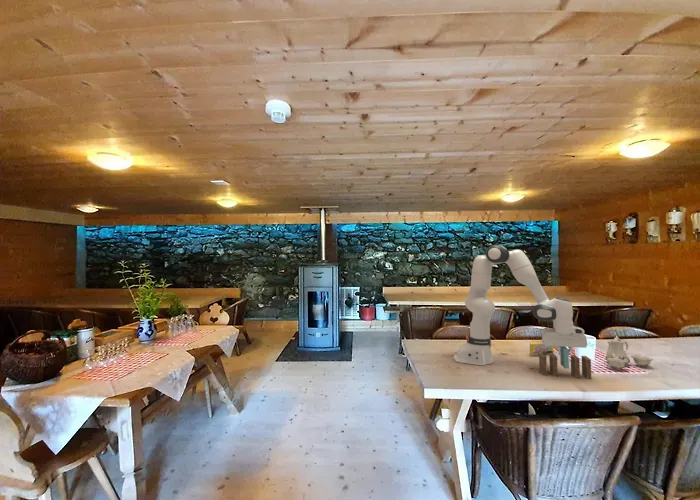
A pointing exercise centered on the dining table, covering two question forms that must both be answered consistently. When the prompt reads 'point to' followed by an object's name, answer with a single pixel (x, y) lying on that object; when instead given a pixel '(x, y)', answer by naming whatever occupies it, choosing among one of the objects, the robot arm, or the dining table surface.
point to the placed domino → (564, 357)
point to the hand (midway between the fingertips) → (564, 354)
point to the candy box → (540, 349)
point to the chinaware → (622, 355)
